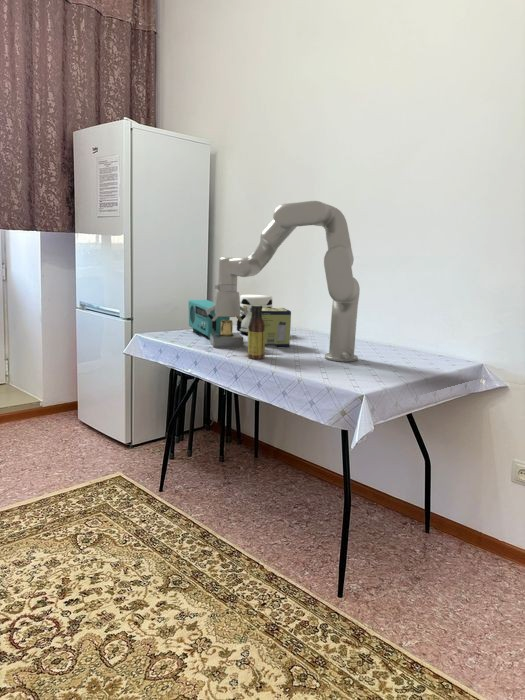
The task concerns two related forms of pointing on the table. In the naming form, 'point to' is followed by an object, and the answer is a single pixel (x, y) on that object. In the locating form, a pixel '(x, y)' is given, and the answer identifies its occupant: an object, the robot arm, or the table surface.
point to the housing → (226, 340)
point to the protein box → (276, 326)
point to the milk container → (246, 304)
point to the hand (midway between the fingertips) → (226, 330)
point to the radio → (203, 317)
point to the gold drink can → (226, 327)
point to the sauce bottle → (256, 334)
